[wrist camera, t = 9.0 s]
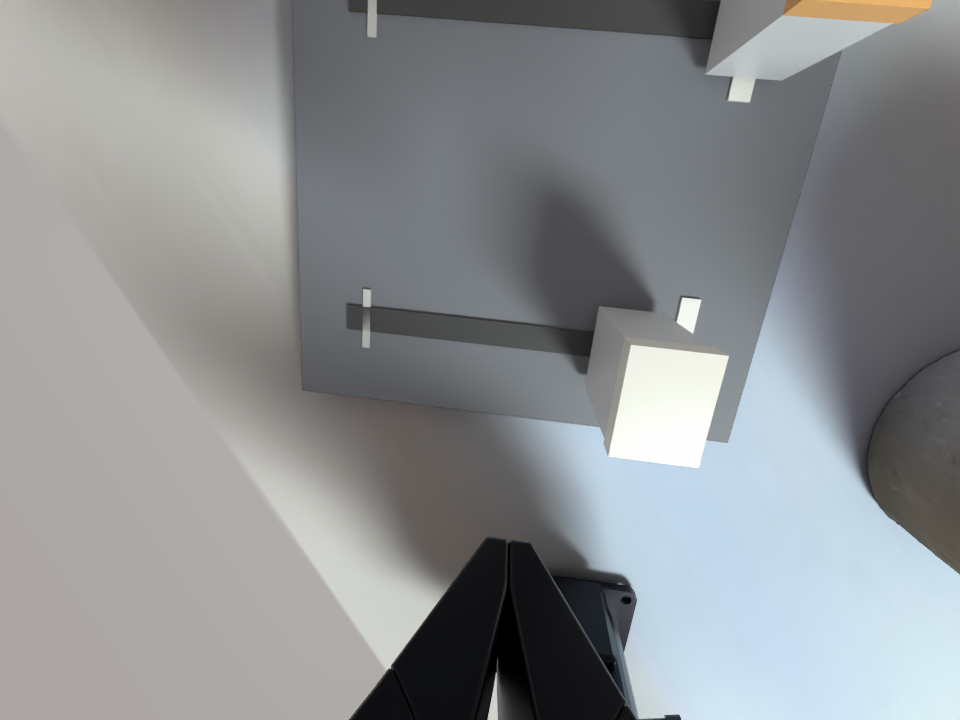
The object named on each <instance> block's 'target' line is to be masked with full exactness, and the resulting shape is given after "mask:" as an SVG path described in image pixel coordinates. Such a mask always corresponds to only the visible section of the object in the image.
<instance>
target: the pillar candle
mask: <svg viewBox="0 0 960 720" xmlns="http://www.w3.org/2000/svg"><path fill="white" fill-rule="evenodd" d="M867 460H868V466H867V467H868V475H869V479H870V483H871V487H872V491H873V494H874V496H875V499H876V501H877V503H878V504H879V506H880V508H881V509H882V510H883V511H884V512H885V513H886V515H887V516H888V517H889V518H891V519H892V520H894V521H895V522H896V523H897V524H898V525H900V526H902V527H903V528H904V529H905V530H906V531H907V532H909V533H910V534H911V535H912V536H913V537H914V538H916V539H917V540H918V541H919V542H920V543H921V544H923V545H924V546H925V547H927V548H928V549H929V550H930V551H931V552H933V553H934V554H935V555H936V556H937V557H938V558H940V559H941V560H942V561H944V562H945V563H946V564H947V565H949V566H950V567H951V568H953V569H954V570H955V571H956V572H958V573H959V574H960V350H959V351H957V352H954V353H952V354H949V355H947V356H945V357H943V358H941V359H939V360H938V361H936V362H934V363H932V364H930V365H929V366H928V367H926V368H924V370H922V371H920V372H919V373H918V374H917V375H916V376H914V377H913V378H911V380H910V381H909V382H907V384H906V385H904V386H903V387H902V389H901V390H900V391H899V392H898V393H897V394H896V395H895V396H894V397H893V398H892V399H891V400H890V402H889V403H888V404H887V406H886V407H885V408H884V410H883V412H882V414H881V416H880V418H879V420H878V422H877V424H876V426H875V428H874V430H873V435H872V439H871V440H870V446H869V449H868V455H867Z"/></svg>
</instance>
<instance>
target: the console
mask: <svg viewBox="0 0 960 720" xmlns="http://www.w3.org/2000/svg"><path fill="white" fill-rule="evenodd" d="M720 2H721V0H292V25H293V62H294V100H295V137H296V175H297V212H298V250H299V288H300V325H301V363H302V390H304V391H312V392H320V393H328V394H336V395H344V396H352V397H360V398H368V399H377V400H385V401H393V402H401V403H409V404H417V405H425V406H433V407H441V408H450V409H458V410H466V411H474V412H482V413H490V414H498V415H506V416H514V417H522V418H531V419H539V420H547V421H555V422H563V423H571V424H579V425H587V426H595V427H600V425H599V422H598V420H597V417H596V414H595V411H594V409H593V406H592V403H591V400H590V398H589V395H588V392H587V389H586V387H585V382H586V377H587V371H588V365H589V360H590V354H591V348H592V343H593V337H594V331H595V326H596V320H597V314H598V309H599V306H603V307H612V308H621V309H630V310H640V311H649V312H658V313H664V314H666V315H667V316H668V317H670V318H671V319H673V320H674V321H676V322H677V323H678V324H680V325H681V326H683V327H684V328H685V329H687V330H688V331H690V332H691V333H693V334H694V335H695V336H697V337H698V338H700V339H701V340H702V341H704V342H705V343H707V344H708V345H710V346H711V347H717V348H718V349H720V350H721V351H723V352H724V353H726V354H727V355H728V356H729V358H728V362H727V365H726V369H725V373H724V376H723V380H722V384H721V387H720V391H719V395H718V398H717V402H716V406H715V409H714V413H713V417H712V420H711V424H710V427H709V431H708V435H707V438H706V440H709V441H717V442H725V443H728V440H729V437H730V433H731V430H732V426H733V423H734V420H735V416H736V413H737V409H738V406H739V402H740V399H741V395H742V392H743V389H744V385H745V382H746V378H747V375H748V371H749V368H750V365H751V361H752V358H753V354H754V351H755V347H756V344H757V340H758V337H759V334H760V330H761V327H762V323H763V320H764V316H765V313H766V310H767V306H768V303H769V299H770V296H771V292H772V289H773V285H774V282H775V279H776V275H777V272H778V268H779V265H780V261H781V258H782V255H783V251H784V248H785V244H786V241H787V237H788V234H789V230H790V227H791V224H792V220H793V217H794V213H795V210H796V206H797V203H798V199H799V196H800V193H801V189H802V186H803V182H804V179H805V175H806V172H807V169H808V165H809V162H810V158H811V155H812V151H813V148H814V144H815V141H816V138H817V134H818V131H819V127H820V124H821V120H822V117H823V114H824V110H825V107H826V103H827V100H828V96H829V93H830V89H831V86H832V83H833V79H834V76H835V72H836V69H837V65H838V62H839V59H840V55H841V52H842V50H841V51H839V52H837V53H835V54H833V55H831V56H829V57H827V58H825V59H823V60H821V61H819V62H817V63H815V64H813V65H811V66H809V67H807V68H805V69H804V70H802V71H800V72H798V73H796V74H794V75H792V76H790V77H788V78H786V79H784V80H782V81H779V80H767V79H754V78H742V77H730V76H717V75H705V72H706V67H707V62H708V58H709V53H710V48H711V44H712V39H713V34H714V30H715V25H716V20H717V16H718V11H719V6H720Z"/></svg>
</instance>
